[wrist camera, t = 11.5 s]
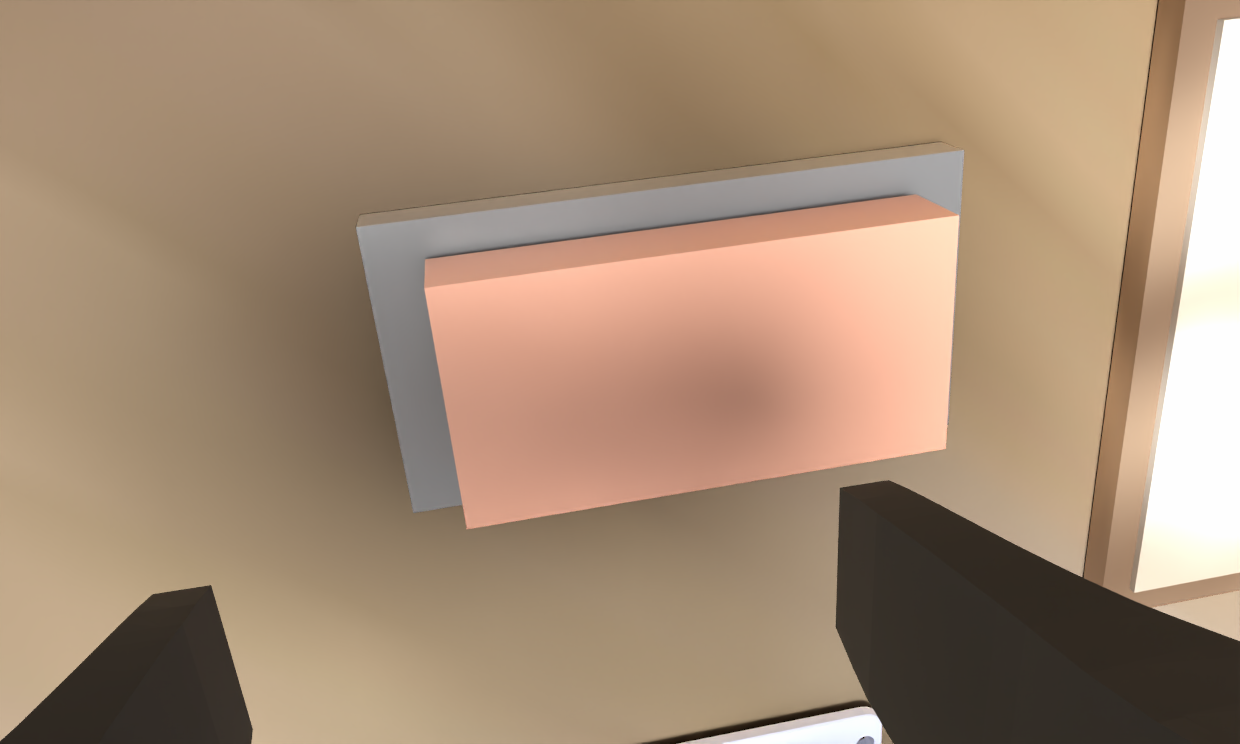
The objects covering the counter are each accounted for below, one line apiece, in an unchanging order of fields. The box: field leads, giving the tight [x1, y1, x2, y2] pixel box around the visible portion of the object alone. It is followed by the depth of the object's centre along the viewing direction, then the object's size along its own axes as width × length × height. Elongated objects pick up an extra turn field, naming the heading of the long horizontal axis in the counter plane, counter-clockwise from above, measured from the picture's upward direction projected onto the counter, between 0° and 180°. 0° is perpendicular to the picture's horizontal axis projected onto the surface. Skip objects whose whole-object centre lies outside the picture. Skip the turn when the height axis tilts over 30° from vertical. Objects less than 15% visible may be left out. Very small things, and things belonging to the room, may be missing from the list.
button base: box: [356, 142, 964, 513], centre depth 21 cm, size 6×12×1 cm, turn 95°
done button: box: [424, 194, 959, 529], centre depth 19 cm, size 5×10×2 cm, turn 95°
